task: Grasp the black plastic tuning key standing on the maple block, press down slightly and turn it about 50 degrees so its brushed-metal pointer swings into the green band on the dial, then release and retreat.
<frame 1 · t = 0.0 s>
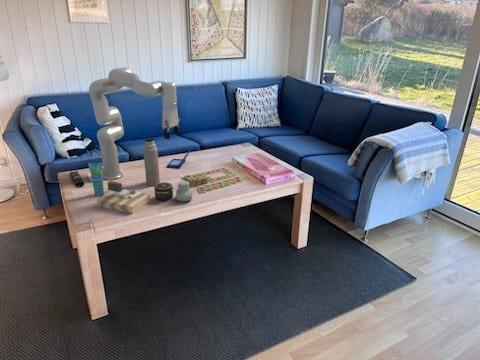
hand: (171, 136, 207), 31 cm above the table, fingers open, 9 cm apart
tuner block: (124, 203, 199), on the table
jar: (164, 198, 206), on the table
thermos bottle: (153, 183, 224), on the table
handheld game console: (179, 165, 255), on the table
peg: (120, 189, 197), point 8 cm above the table, hinge at 0.0°
pale green rounded vessel: (184, 199, 205), on the table
tube: (99, 194, 209), on the table
pile of dominoes: (212, 181, 231), on the table
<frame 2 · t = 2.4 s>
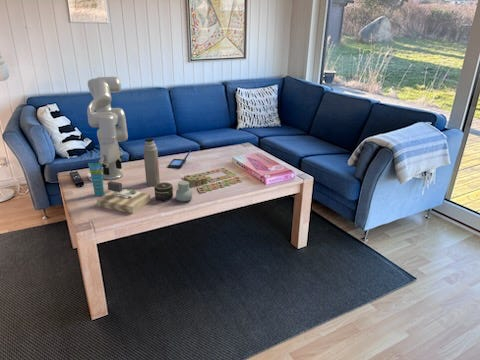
hand: (113, 171, 193), 18 cm above the table, fingers open, 9 cm apart
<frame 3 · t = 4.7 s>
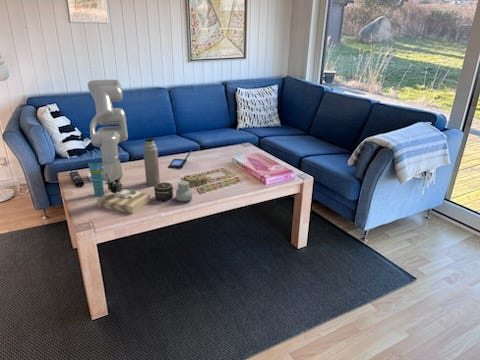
hand: (115, 191, 198), 6 cm above the table, fingers closed on peg, 2 cm apart
peg: (120, 189, 197), point 8 cm above the table, hinge at 0.0°, touching gripper
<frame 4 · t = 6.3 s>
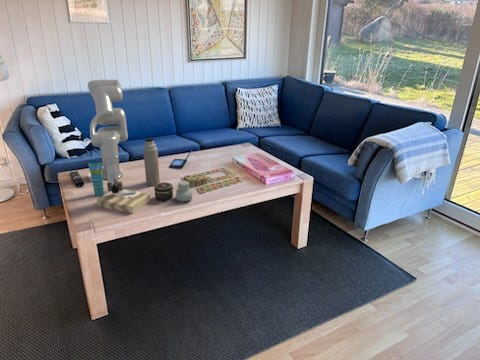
hand: (115, 191, 198), 6 cm above the table, fingers closed on peg, 2 cm apart
peg: (121, 188, 198), point 8 cm above the table, hinge at 31.8°, touching gripper
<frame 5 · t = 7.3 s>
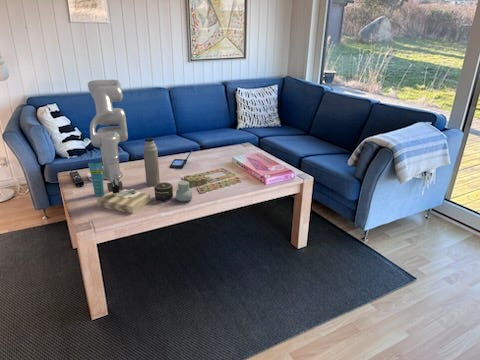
hand: (115, 191, 198), 6 cm above the table, fingers closed on peg, 2 cm apart
peg: (121, 187, 199), point 8 cm above the table, hinge at 49.7°, touching gripper
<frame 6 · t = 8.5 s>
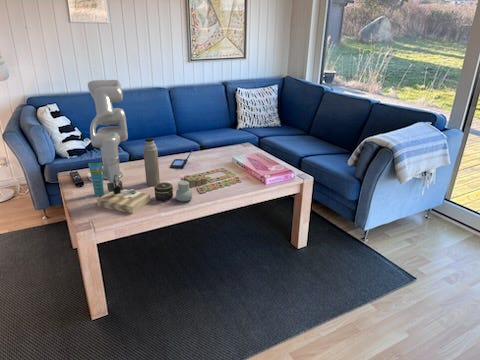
hand: (115, 190, 198), 7 cm above the table, fingers open, 9 cm apart
peg: (121, 187, 199), point 8 cm above the table, hinge at 50.3°
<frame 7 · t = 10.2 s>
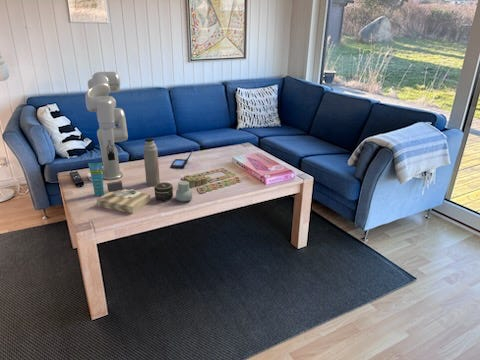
hand: (111, 156, 192), 26 cm above the table, fingers open, 9 cm apart
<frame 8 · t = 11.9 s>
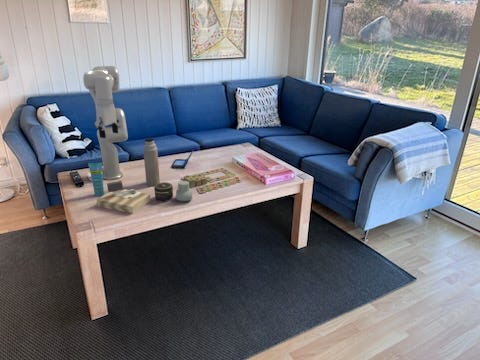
hand: (109, 135, 190), 36 cm above the table, fingers open, 9 cm apart
at the end: peg at +50° (first picture: +0°); the gripper is holding nothing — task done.
